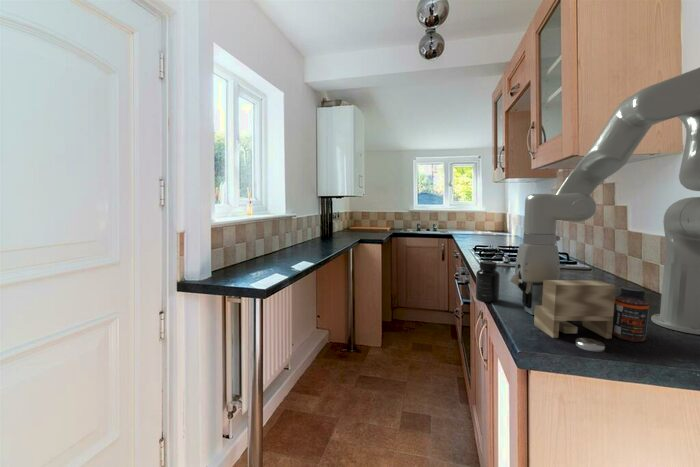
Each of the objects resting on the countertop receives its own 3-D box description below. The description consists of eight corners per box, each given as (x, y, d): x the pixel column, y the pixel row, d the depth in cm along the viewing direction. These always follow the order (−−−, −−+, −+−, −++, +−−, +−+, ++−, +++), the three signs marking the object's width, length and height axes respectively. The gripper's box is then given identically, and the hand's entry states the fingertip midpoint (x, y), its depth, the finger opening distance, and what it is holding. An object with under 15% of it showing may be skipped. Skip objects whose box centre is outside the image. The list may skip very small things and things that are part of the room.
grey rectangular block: (538, 310, 94) (540, 282, 94) (579, 333, 77) (581, 299, 77) (524, 310, 94) (525, 282, 94) (561, 333, 77) (563, 299, 77)
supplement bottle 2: (618, 340, 74) (622, 290, 73) (607, 331, 80) (610, 284, 79) (651, 344, 72) (656, 292, 71) (638, 334, 78) (642, 286, 77)
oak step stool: (587, 325, 83) (590, 277, 82) (611, 338, 75) (615, 285, 74) (534, 325, 83) (536, 277, 82) (552, 337, 75) (555, 285, 74)
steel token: (592, 343, 73) (592, 337, 73) (610, 353, 68) (611, 347, 68) (570, 343, 73) (570, 338, 73) (586, 353, 68) (587, 347, 68)
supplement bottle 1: (479, 296, 110) (481, 259, 109) (501, 299, 106) (503, 262, 105) (472, 300, 105) (473, 262, 104) (495, 304, 101) (496, 264, 100)
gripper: (561, 238, 94) (558, 303, 96) (501, 238, 94) (499, 302, 96) (579, 241, 87) (575, 311, 88) (514, 241, 87) (511, 310, 88)
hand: (535, 306), depth 92 cm, fingers closed on grey rectangular block, 4 cm apart
